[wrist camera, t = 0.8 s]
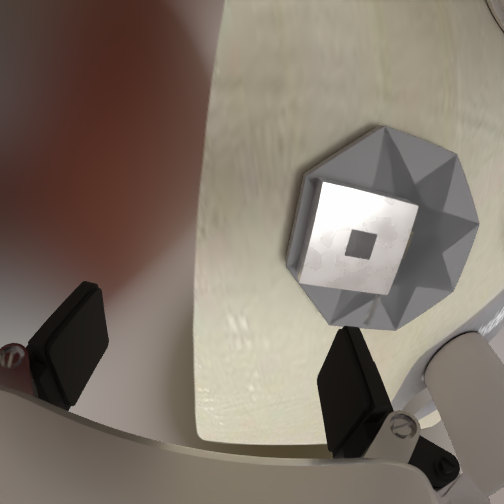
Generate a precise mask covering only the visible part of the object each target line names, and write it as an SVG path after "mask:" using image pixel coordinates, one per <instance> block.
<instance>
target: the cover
mask: <svg viewBox="0 0 504 504" xmlns="http://www.w3.org/2000/svg"><path fill="white" fill-rule="evenodd" d="M418 207H419V206H418V205H416V204H414V203H413V202H411V201H409V200H408V199H405V198H402V197H398V196H394V195H391V194H387V193H383V192H379V191H375V190H372V189H368V188H364V187H359V186H355V185H351V184H347V183H343V182H338V181H334V180H329V179H324V178H320V177H318V178H317V183H316V188H315V192H314V197H313V201H312V206H311V210H310V215H309V219H308V224H307V228H306V232H305V237H304V241H303V245H302V249H301V253H300V257H299V261H298V265H297V269H296V271H297V276H298V280H299V283H301V284H308V285H315V286H322V287H329V288H337V289H344V290H352V291H359V292H367V293H375V294H382V295H388V293H389V291H390V288H391V286H392V283H393V281H394V278H395V275H396V273H397V270H398V268H399V265H400V262H401V259H402V257H403V254H404V251H405V248H406V245H407V242H408V239H409V236H410V233H411V230H412V227H413V223H414V220H415V217H416V213H417V210H418Z"/></svg>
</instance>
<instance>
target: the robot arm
mask: <svg viewBox="0 0 504 504" xmlns="http://www.w3.org/2000/svg"><path fill="white" fill-rule="evenodd" d="M487 3H488V6H489V8H490V10H491V12H492V14H493V15H494V17H495V19H496V21H497V22H498V24H499V25H500V27H501V28H502V30H503V31H504V0H487ZM108 343H109V338H108V333H107V326H106V320H105V313H104V305H103V297H102V291H101V289H100V288H99V287H98V285H97V284H95V283H91V282H87V281H84V282H82V283H81V284H80V285H79V286H78V287H77V288H76V289H75V290H74V291H73V292H72V293H71V295H70V296H69V297H68V298H67V299H66V300H65V301H64V302H63V303H62V304H61V305H60V306H59V307H58V308H57V310H56V311H55V312H54V313H53V314H52V315H51V316H50V317H49V318H48V319H47V321H46V322H45V323H44V324H43V325H42V326H41V328H40V329H39V330H38V331H37V332H36V333H35V334H34V336H33V337H32V338H31V339H30V340H29V342H28V345H27V347H26V348H25V347H24V346H23V345H21V344H18V343H10V344H7V345H5V346H3V347H1V349H0V504H490V500H489V498H488V496H487V495H486V494H485V493H484V492H483V491H482V490H481V489H480V488H479V487H478V486H477V485H476V484H475V483H474V482H473V481H472V480H471V479H470V478H469V477H468V476H467V475H466V474H465V473H462V474H460V473H459V471H460V467H459V462H458V460H457V459H456V457H455V456H454V455H452V454H451V453H449V452H448V451H445V450H444V449H442V448H441V447H439V446H437V445H435V444H434V443H432V442H430V441H428V440H427V439H425V438H424V437H422V436H420V431H421V428H420V424H419V422H418V420H417V419H416V418H415V417H414V416H413V415H411V414H410V413H408V412H406V411H400V410H398V411H393V408H392V405H391V403H390V400H389V397H388V395H387V392H386V389H385V387H384V384H383V382H382V379H381V377H380V374H379V372H378V369H377V367H376V364H375V362H374V361H373V359H372V357H371V354H370V352H369V350H368V347H367V345H366V342H365V340H364V338H363V335H362V333H361V331H360V329H359V327H353V326H344V327H343V328H342V329H339V330H338V331H337V334H336V336H335V338H334V341H333V343H332V346H331V348H330V350H329V352H328V355H327V357H326V359H325V361H324V364H323V366H322V368H321V370H320V372H319V374H318V378H317V386H318V392H319V397H320V403H321V409H322V415H323V420H324V427H325V433H326V439H327V445H328V450H329V451H330V452H332V453H333V459H288V458H267V457H253V456H243V455H233V454H225V453H218V452H212V451H205V450H200V449H194V448H188V447H184V446H179V445H174V444H169V443H165V442H161V441H157V440H153V439H149V438H145V437H142V436H138V435H134V434H131V433H128V432H124V431H121V430H118V429H114V428H112V427H109V426H105V425H103V424H100V423H97V422H94V421H92V420H89V419H86V418H84V417H81V416H79V415H76V414H74V413H71V412H68V411H69V409H70V407H71V406H74V405H75V404H76V402H77V400H78V399H79V397H80V395H81V393H82V391H83V389H84V388H85V386H86V384H87V382H88V380H89V379H90V377H91V375H92V373H93V371H94V369H95V368H96V366H97V364H98V363H99V361H100V359H101V358H102V356H103V354H104V352H105V350H106V349H107V347H108Z"/></svg>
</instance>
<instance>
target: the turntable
mask: <svg viewBox="0 0 504 504" xmlns="http://www.w3.org/2000/svg"><path fill="white" fill-rule="evenodd" d="M318 177H320V178H324V179H329V180H334V181H338V182H343V183H347V184H351V185H355V186H359V187H364V188H368V189H372V190H375V191H379V192H383V193H387V194H391V195H394V196H398V197H402V198H405V199H408V200H409V201H411V202H413V203H414V204H416V205H418V206H419V207H418V210H417V213H416V217H415V220H414V223H413V227H412V230H411V233H410V236H409V239H408V242H407V245H406V248H405V251H404V254H403V257H402V259H401V262H400V265H399V268H398V270H397V273H396V275H395V278H394V281H393V283H392V286H391V288H390V291H389V293H388V295H382V294H375V293H367V292H359V291H352V290H344V289H337V288H329V287H322V286H315V285H308V284H301V283H299V280H298V276H297V271H296V269H297V265H298V261H299V257H300V253H301V249H302V245H303V241H304V237H305V232H306V228H307V224H308V219H309V215H310V210H311V206H312V201H313V197H314V192H315V188H316V183H317V178H318ZM478 227H479V220H478V216H477V212H476V209H475V205H474V202H473V198H472V195H471V192H470V189H469V186H468V183H467V180H466V177H465V174H464V171H463V168H462V166H461V163H460V160H459V158H458V155H457V154H456V153H453V152H451V151H449V150H447V149H444V148H442V147H440V146H437V145H435V144H433V143H430V142H428V141H425V140H423V139H420V138H418V137H415V136H412V135H410V134H407V133H404V132H401V131H399V130H396V129H393V128H390V127H387V126H378V127H376V128H374V129H373V130H371V131H369V132H368V133H366V134H365V135H363V136H361V137H360V138H358V139H357V140H355V141H353V142H352V143H350V144H349V145H347V146H346V147H344V148H342V149H341V150H339V151H338V152H336V153H335V154H333V155H332V156H330V157H328V158H327V159H325V160H324V161H322V162H321V163H319V164H318V165H316V166H315V167H313V168H312V169H310V170H308V171H307V172H305V173H304V174H303V179H302V184H301V189H300V194H299V199H298V204H297V209H296V213H295V218H294V223H293V227H292V232H291V237H290V241H289V246H288V250H287V255H286V259H285V261H286V267H287V269H288V270H289V271H290V273H291V274H292V275H293V277H294V278H295V279H296V281H297V282H298V283H299V285H300V286H301V287H302V289H303V290H304V291H305V293H306V294H307V296H308V297H309V298H310V300H311V301H312V302H313V304H314V305H315V306H316V308H317V309H318V310H319V312H320V313H321V315H322V316H323V317H324V319H325V320H326V321H327V323H328V324H329V325H332V326H342V327H344V326H353V327H359V328H365V329H378V330H393V331H396V330H397V329H399V328H401V327H402V326H404V325H405V324H407V323H409V322H410V321H412V320H413V319H415V318H416V317H418V316H419V315H421V314H422V313H424V312H425V311H427V310H428V309H430V308H431V307H433V306H434V305H435V304H437V303H438V302H440V301H441V300H443V299H444V298H445V297H447V296H448V295H449V294H451V293H452V292H453V291H454V289H455V287H456V285H457V282H458V280H459V278H460V275H461V273H462V271H463V268H464V266H465V263H466V261H467V258H468V256H469V253H470V250H471V248H472V245H473V242H474V239H475V236H476V233H477V230H478Z"/></svg>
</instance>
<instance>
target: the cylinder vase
mask: <svg viewBox="0 0 504 504" xmlns="http://www.w3.org/2000/svg"><path fill="white" fill-rule="evenodd" d="M424 380H425V384H426V386H427V388H428V390H429V392H430V394H431V396H432V399H433V401H434V403H435V405H436V407H437V410H438V412H439V414H440V416H441V419H442V421H443V423H444V425H445V428H446V430H447V432H448V435H449V437H450V440H451V442H452V445H453V447H454V450H455V452H456V455H457V457H458V460H459V463H460V466H461V469H462V471H463V473H465V474H466V475H467V476H468V477H469V478H470V479H471V480H472V481H473V482H474V483H475V484H476V485H477V486H478V487H479V488H480V489H481V490H482V491H483V492H484V493H485V494H486V495H487V496H488V497H489V496H490V495H492V494H493V493H495V492H497V491H498V490H500V489H501V488H503V487H504V364H503V363H502V361H501V360H500V359H499V357H498V356H497V354H496V353H495V352H494V350H493V349H492V348H491V346H490V345H489V344H488V342H487V341H486V340H485V339H484V337H483V336H482V335H481V334H479V333H475V332H471V333H466V334H463V335H460V336H458V337H456V338H455V339H453V340H452V341H450V342H449V343H447V344H446V345H445V346H444V347H443V348H442V349H440V350H439V351H438V353H437V354H436V355H435V356H434V357H433V359H432V360H431V361H430V363H429V365H428V367H427V369H426V372H425V377H424Z"/></svg>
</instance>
